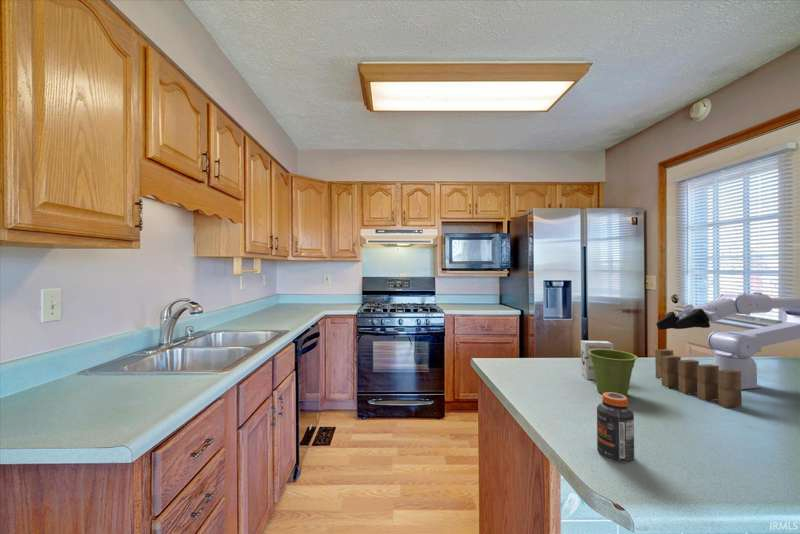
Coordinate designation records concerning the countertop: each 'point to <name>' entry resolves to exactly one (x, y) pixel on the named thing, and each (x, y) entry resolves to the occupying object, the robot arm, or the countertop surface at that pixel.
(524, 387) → the countertop surface
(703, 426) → the countertop surface
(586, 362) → the ink box
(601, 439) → the pill bottle
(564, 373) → the countertop surface
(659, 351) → the domino
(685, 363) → the domino
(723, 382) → the domino
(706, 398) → the domino
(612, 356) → the plant pot
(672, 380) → the domino
